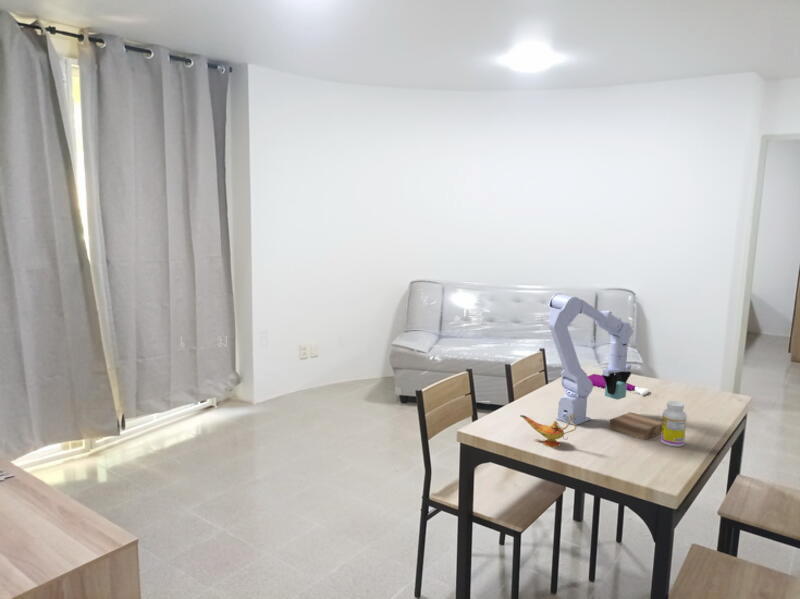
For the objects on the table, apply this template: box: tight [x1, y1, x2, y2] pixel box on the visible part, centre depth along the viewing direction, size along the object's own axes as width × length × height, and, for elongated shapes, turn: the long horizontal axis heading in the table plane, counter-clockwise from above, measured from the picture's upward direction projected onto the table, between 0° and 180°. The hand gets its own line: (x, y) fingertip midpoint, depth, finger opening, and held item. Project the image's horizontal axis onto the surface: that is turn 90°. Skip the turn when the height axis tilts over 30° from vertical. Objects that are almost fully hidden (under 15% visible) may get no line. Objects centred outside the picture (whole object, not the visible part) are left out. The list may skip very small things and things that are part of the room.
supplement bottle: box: [660, 400, 688, 448], centre depth 175 cm, size 7×7×13 cm
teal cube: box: [604, 381, 628, 401], centre depth 200 cm, size 5×5×5 cm
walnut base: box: [608, 411, 662, 441], centre depth 186 cm, size 12×12×3 cm
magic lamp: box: [519, 414, 577, 448], centre depth 175 cm, size 7×18×11 cm, turn 55°
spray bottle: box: [587, 373, 650, 397], centre depth 232 cm, size 3×11×24 cm
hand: (615, 392), depth 200 cm, fingers closed on teal cube, 5 cm apart
